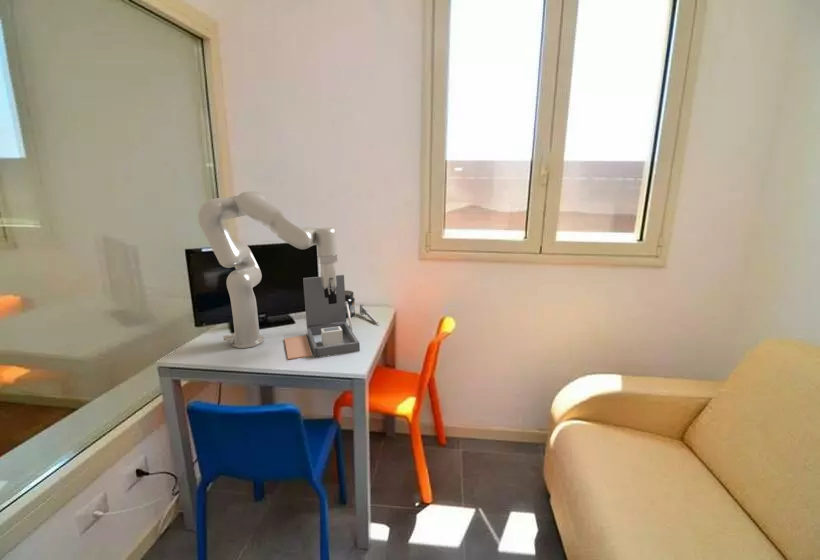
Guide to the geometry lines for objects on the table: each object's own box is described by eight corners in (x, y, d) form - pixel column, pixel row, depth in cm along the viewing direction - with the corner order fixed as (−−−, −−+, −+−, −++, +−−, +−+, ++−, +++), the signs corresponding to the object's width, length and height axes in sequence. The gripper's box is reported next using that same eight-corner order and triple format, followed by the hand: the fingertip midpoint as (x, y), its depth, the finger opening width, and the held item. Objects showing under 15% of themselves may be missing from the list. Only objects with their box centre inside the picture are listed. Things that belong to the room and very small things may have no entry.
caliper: (359, 314, 204) (359, 302, 202) (361, 314, 204) (361, 302, 203) (377, 326, 187) (377, 313, 185) (379, 325, 187) (379, 312, 186)
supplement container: (329, 316, 201) (328, 293, 198) (345, 311, 209) (344, 288, 206) (343, 320, 194) (342, 296, 191) (359, 315, 202) (358, 292, 199)
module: (323, 346, 164) (322, 332, 162) (321, 342, 168) (320, 328, 167) (342, 343, 166) (342, 329, 165) (340, 339, 171) (339, 325, 169)
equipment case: (315, 357, 153) (310, 293, 147) (307, 334, 177) (303, 278, 171) (362, 350, 159) (360, 288, 153) (348, 328, 183) (346, 274, 177)
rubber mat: (288, 360, 151) (288, 358, 151) (284, 339, 171) (284, 338, 171) (312, 356, 154) (312, 354, 154) (306, 336, 174) (306, 335, 174)
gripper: (315, 256, 166) (318, 296, 170) (321, 263, 150) (324, 307, 154) (333, 255, 168) (336, 294, 172) (341, 262, 152) (344, 305, 156)
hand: (330, 300), depth 163 cm, fingers open, 9 cm apart
